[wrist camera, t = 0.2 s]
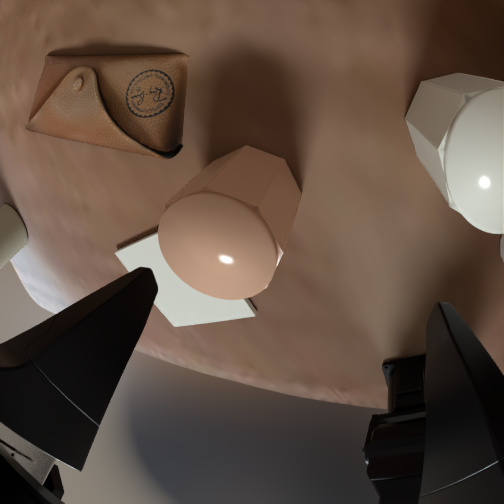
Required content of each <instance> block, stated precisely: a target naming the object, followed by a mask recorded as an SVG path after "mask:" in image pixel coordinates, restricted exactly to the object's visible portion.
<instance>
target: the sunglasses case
mask: <svg viewBox="0 0 504 504" xmlns="http://www.w3.org/2000/svg"><path fill="white" fill-rule="evenodd" d="M188 59H189V56H188V55H186V54H182V53H165V54H140V55H135V54H133V55H88V56H86V55H84V56H55V55H47V56H46V58H45V66H44V69H43V72H42V75H41V78H40V81H39V84H38V88H37V91H36V94H35V98H34V102H33V106H32V110H31V113H30V117H29V122H28V124H27V125H25V128H26V129H27V130H28V131H31V132H38V133H42V134H45V135H49V136H54V137H58V138H63V139H68V140H73V141H78V142H83V143H88V144H93V145H97V146H102V147H107V148H112V149H117V150H121V151H127V152H132V153H138V154H143V155H150V156H155V157H159V158H163V159H171V158H173V157H174V156H176V155H177V154H178V153H179V152H180V150H181V148H182V147H183V146H182V145H181V142H182V136H183V121H184V108H185V97H186V85H187V60H188Z"/></svg>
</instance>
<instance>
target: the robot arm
mask: <svg viewBox="0 0 504 504" xmlns="http://www.w3.org/2000/svg"><path fill="white" fill-rule="evenodd" d="M157 293H158V284H157V282H156V279H155V276H154V273H153V271H152V269H151V268H148V267H138V268H136V269H134V270H133V271H131V272H129V273H127V274H125V275H124V276H122V277H120V278H118V279H116V280H115V281H113V282H111V283H109V284H107V285H106V286H104V287H102V288H100V289H99V290H97V291H95V292H93V293H91V294H90V295H88V296H86V297H84V298H83V299H81V300H79V301H78V302H76V303H74V304H72V305H71V306H69V307H67V308H66V309H64V310H62V311H60V312H59V313H58V314H55V315H54V316H52V317H51V318H49V319H47V320H46V321H43V322H42V323H40V324H38V325H36V326H35V327H33V328H31V329H29V330H27V331H25V332H23V333H21V334H19V335H17V336H15V337H14V338H12V339H10V340H8V341H6V342H4V343H1V344H0V504H65V503H64V502H62V501H61V498H62V496H63V494H64V489H63V485H62V481H61V477H60V473H59V469H58V466H57V465H55V461H56V459H57V460H59V461H61V462H63V463H65V464H66V465H69V466H70V467H72V468H74V469H76V470H78V471H80V472H81V471H82V469H83V466H84V464H85V461H86V458H87V456H88V453H89V451H90V448H91V446H92V443H93V441H94V438H95V436H96V434H97V431H98V429H99V425H100V424H101V421H102V419H103V416H104V414H105V412H106V409H107V407H108V405H109V403H110V400H111V398H112V396H113V393H114V391H115V389H116V387H117V385H118V382H119V380H120V378H121V376H122V374H123V372H124V369H125V367H126V365H127V362H128V361H129V359H130V357H131V355H132V352H133V350H134V348H135V346H136V344H137V342H138V340H139V338H140V336H141V334H142V332H143V329H144V327H145V325H146V322H147V319H148V317H149V314H150V311H151V309H152V306H153V304H154V301H155V298H156V296H157ZM382 369H383V372H384V376H385V379H386V383H387V386H388V406H387V413H386V414H379V415H377V414H374V415H372V419H371V421H370V424H369V429H368V433H367V437H366V442H365V444H364V447H363V449H362V453H363V454H364V455H365V459H366V464H367V465H368V467H367V474H368V477H369V479H370V480H371V482H372V484H373V485H374V487H375V489H376V491H377V493H378V495H379V504H504V375H503V374H502V372H501V371H500V369H499V368H498V366H497V365H496V363H495V362H494V360H493V359H492V357H491V356H490V355H489V353H488V352H487V350H486V349H485V348H484V346H483V345H482V344H481V342H480V341H479V339H478V338H477V337H476V335H475V334H474V333H473V331H472V330H471V329H470V328H469V326H468V325H467V324H466V322H465V321H464V320H463V319H462V317H461V316H460V315H459V314H458V312H457V311H456V310H455V309H454V307H453V306H452V305H451V304H450V303H448V302H437V303H436V304H435V306H434V308H433V311H432V313H431V315H430V317H429V319H428V322H427V336H426V355H423V356H418V357H413V358H408V359H403V360H397V361H392V362H386V363H383V364H382Z"/></svg>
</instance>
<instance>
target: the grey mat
mask: <svg viewBox="0 0 504 504" xmlns="http://www.w3.org/2000/svg"><path fill="white" fill-rule="evenodd" d="M115 254H116V255H117V257H118V258H119V259H120V261H121V262H122V263H123V265H124V266H125V267H126V269H127V270H128V271H129V272H131V271H133V270H134V269H136V268H138V267H148V268H151V269H152V271H153V273H154V276H155V279H156V282H157V284H158V293H157V296H156V298H155V301H154V304H155V305H156V306H157V307H158V308H159V309H160V311H161V312H162V313H163V314H164V315H165V316H166V318H167V319H168V320H169V321H170V322H171V323H172V325H173V326H174V327H177V326H186V325H194V324H202V323H210V322H218V321H225V320H232V319H239V318H246V317H253V316H256V313H257V311H256V310H255V308H254V307H253V305H252V304H251V302H250V301H249V299H248V298H245V299H239V300H225V299H219V298H215V297H211V296H208V295H206V294H203V293H201V292H199V291H197V290H195V289H194V288H192V287H190V286H189V285H187V284H186V283H185V282H183V281H182V280H181V279H180V278H179V277H178V276H177V275H176V274H175V273H174V272H173V271H172V269H171V268H170V267H169V265H168V264H167V262H166V261H165V259H164V257H163V255H162V252H161V250H160V246H159V241H158V232H155V233H153V234H151V235H149V236H147V237H144V238H142V239H140V240H138V241H136V242H133V243H131V244H129V245H127V246H125V247H123V248H120V249H118V250H117V251H116V252H115Z"/></svg>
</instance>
